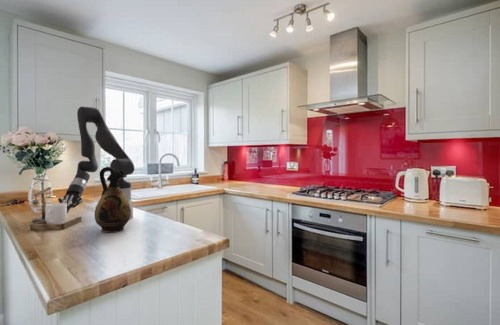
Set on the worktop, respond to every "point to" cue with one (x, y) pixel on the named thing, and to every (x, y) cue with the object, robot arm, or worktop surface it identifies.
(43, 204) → the balance
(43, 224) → the tray frame
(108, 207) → the ceramic jug
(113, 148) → the robot arm
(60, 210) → the mug
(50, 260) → the worktop surface
